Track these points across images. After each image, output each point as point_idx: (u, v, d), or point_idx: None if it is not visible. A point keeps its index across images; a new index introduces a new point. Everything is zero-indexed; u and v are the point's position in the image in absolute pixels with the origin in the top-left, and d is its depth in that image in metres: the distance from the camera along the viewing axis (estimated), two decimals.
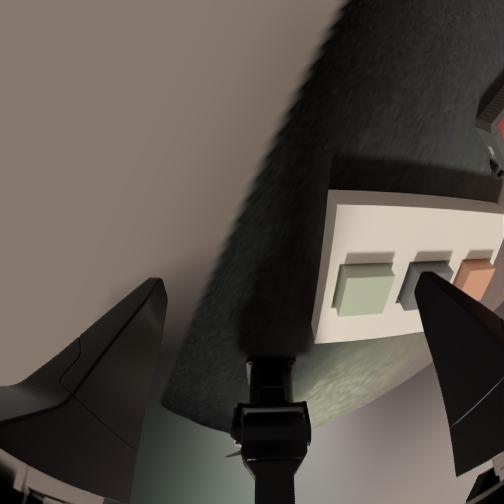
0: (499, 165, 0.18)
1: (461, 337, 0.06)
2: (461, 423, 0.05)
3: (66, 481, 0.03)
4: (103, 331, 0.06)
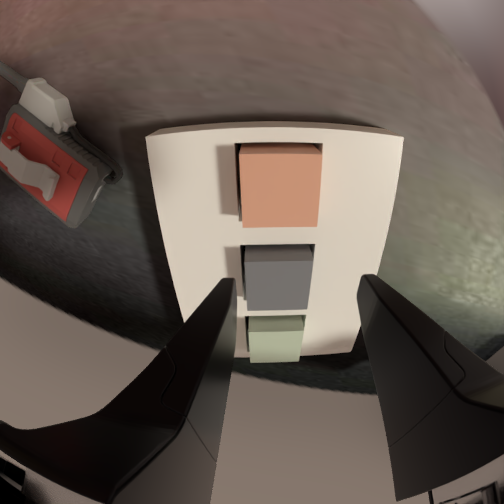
0: (102, 180, 0.18)
1: (396, 350, 0.06)
2: (398, 445, 0.05)
3: None
4: (195, 338, 0.06)
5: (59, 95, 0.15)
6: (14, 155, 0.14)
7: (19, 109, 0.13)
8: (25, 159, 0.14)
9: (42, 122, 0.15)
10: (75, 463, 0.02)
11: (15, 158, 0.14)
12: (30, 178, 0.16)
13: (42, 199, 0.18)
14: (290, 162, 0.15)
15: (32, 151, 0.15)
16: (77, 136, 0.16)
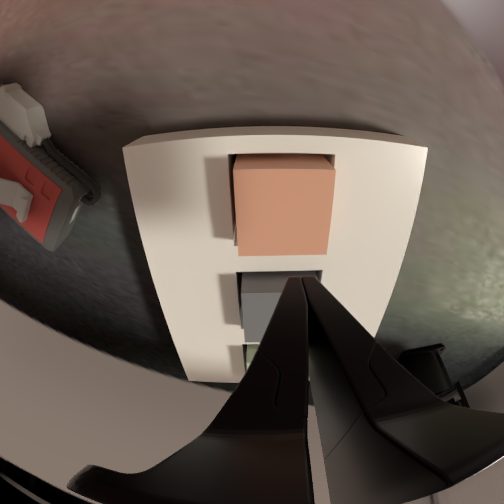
0: (79, 201, 0.16)
1: (322, 359, 0.06)
2: (329, 459, 0.05)
3: None
4: (287, 338, 0.06)
5: (33, 103, 0.12)
6: None
7: None
8: None
9: (15, 134, 0.12)
10: (244, 498, 0.02)
11: None
12: (3, 197, 0.13)
13: (18, 219, 0.15)
14: (296, 179, 0.12)
15: (5, 167, 0.13)
16: (52, 150, 0.14)
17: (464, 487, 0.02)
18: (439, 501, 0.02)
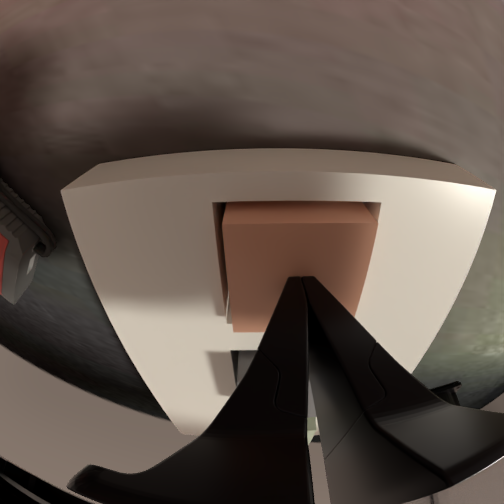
0: (32, 251, 0.11)
1: (322, 359, 0.06)
2: (329, 459, 0.05)
3: None
4: (287, 338, 0.06)
5: None
6: None
7: None
8: None
9: None
10: (245, 498, 0.02)
11: None
12: None
13: None
14: (320, 238, 0.08)
15: None
16: None
17: (464, 487, 0.02)
18: (439, 501, 0.02)
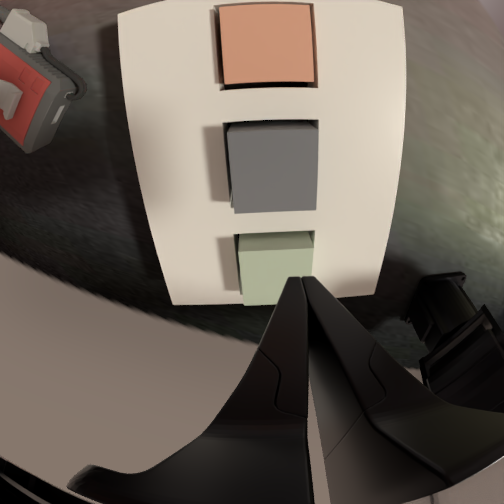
0: (64, 97, 0.13)
1: (322, 359, 0.06)
2: (329, 459, 0.05)
3: None
4: (287, 338, 0.06)
5: (38, 21, 0.10)
6: None
7: None
8: None
9: (17, 45, 0.10)
10: (244, 498, 0.02)
11: None
12: None
13: (4, 123, 0.12)
14: (275, 11, 0.10)
15: (2, 73, 0.10)
16: (48, 55, 0.11)
17: (464, 487, 0.02)
18: (439, 501, 0.02)
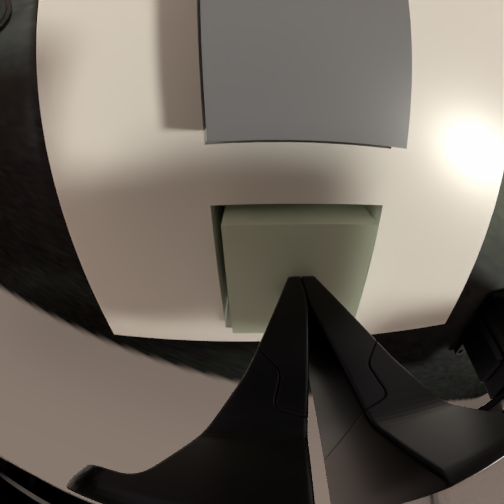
0: None
1: (322, 359, 0.06)
2: (329, 459, 0.05)
3: None
4: (287, 338, 0.06)
5: None
6: None
7: None
8: None
9: None
10: (244, 498, 0.02)
11: None
12: None
13: None
14: None
15: None
16: None
17: (464, 487, 0.02)
18: (439, 501, 0.02)
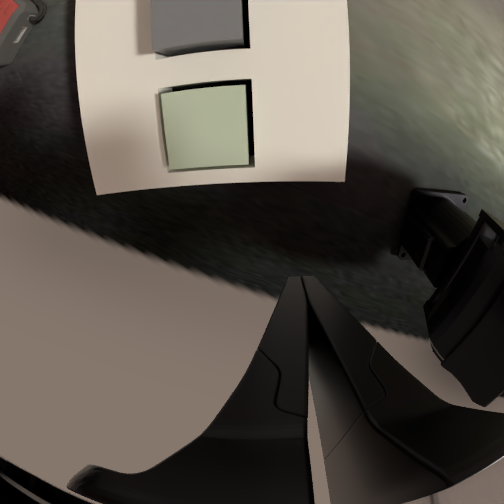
0: (27, 18, 0.09)
1: (322, 359, 0.06)
2: (329, 459, 0.05)
3: None
4: (287, 338, 0.06)
5: None
6: None
7: None
8: None
9: None
10: (244, 498, 0.02)
11: None
12: None
13: None
14: None
15: None
16: None
17: (464, 487, 0.02)
18: (439, 501, 0.02)
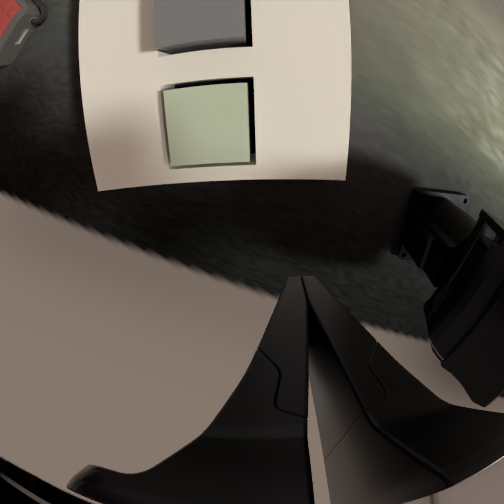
0: (29, 21, 0.09)
1: (322, 359, 0.06)
2: (329, 459, 0.05)
3: None
4: (287, 338, 0.06)
5: None
6: None
7: None
8: None
9: None
10: (245, 498, 0.02)
11: None
12: None
13: None
14: None
15: None
16: None
17: (464, 487, 0.02)
18: (439, 501, 0.02)
